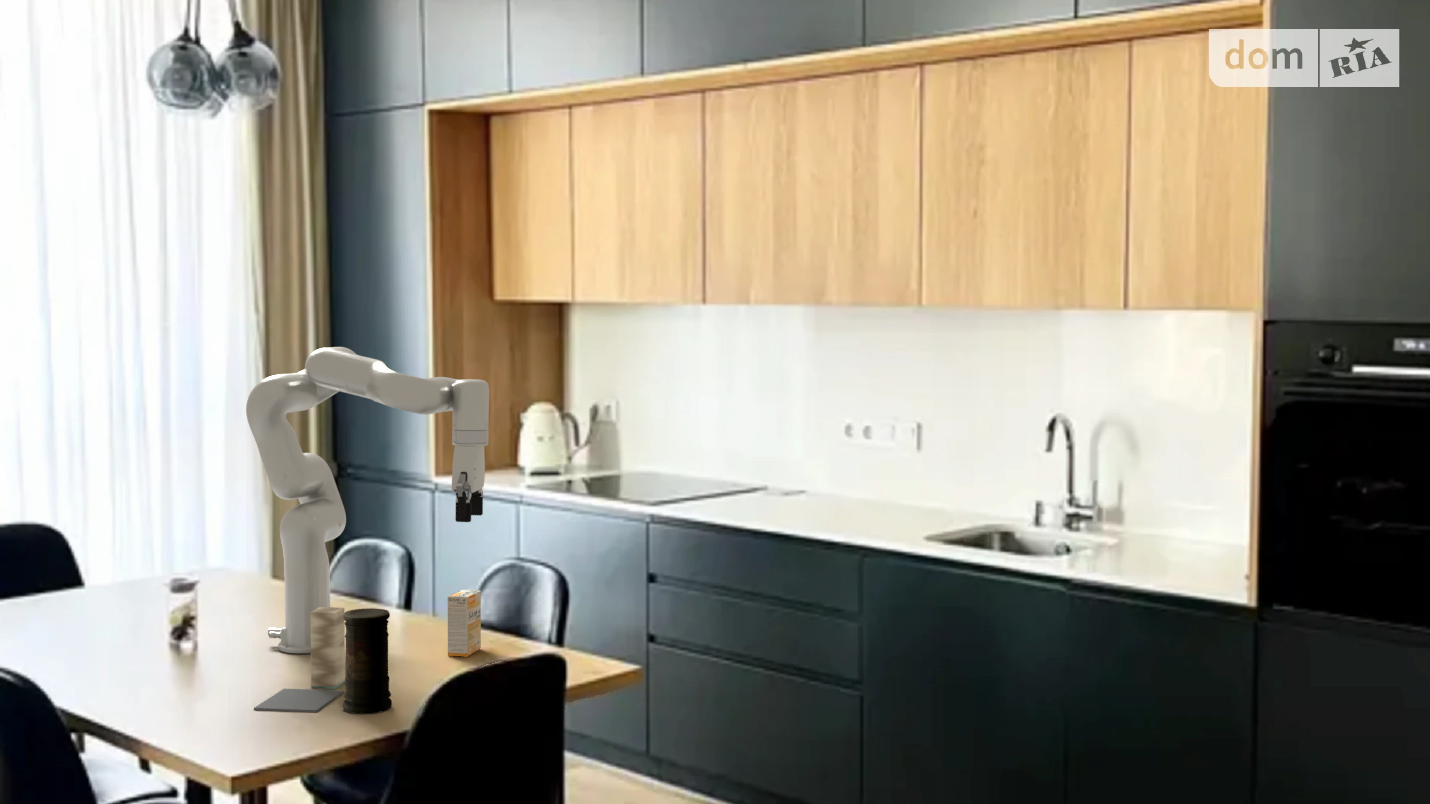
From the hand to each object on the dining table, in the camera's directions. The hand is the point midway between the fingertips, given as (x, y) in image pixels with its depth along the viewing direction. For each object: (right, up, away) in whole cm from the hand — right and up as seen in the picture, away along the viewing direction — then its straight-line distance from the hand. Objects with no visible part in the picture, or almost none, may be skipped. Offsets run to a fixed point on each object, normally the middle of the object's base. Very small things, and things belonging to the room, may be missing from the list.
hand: (469, 518), depth 313 cm
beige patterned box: (-24, -31, -22) cm, 45 cm away
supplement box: (-2, -30, +6) cm, 30 cm away
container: (-13, -32, -38) cm, 52 cm away
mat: (-26, -32, -34) cm, 54 cm away
